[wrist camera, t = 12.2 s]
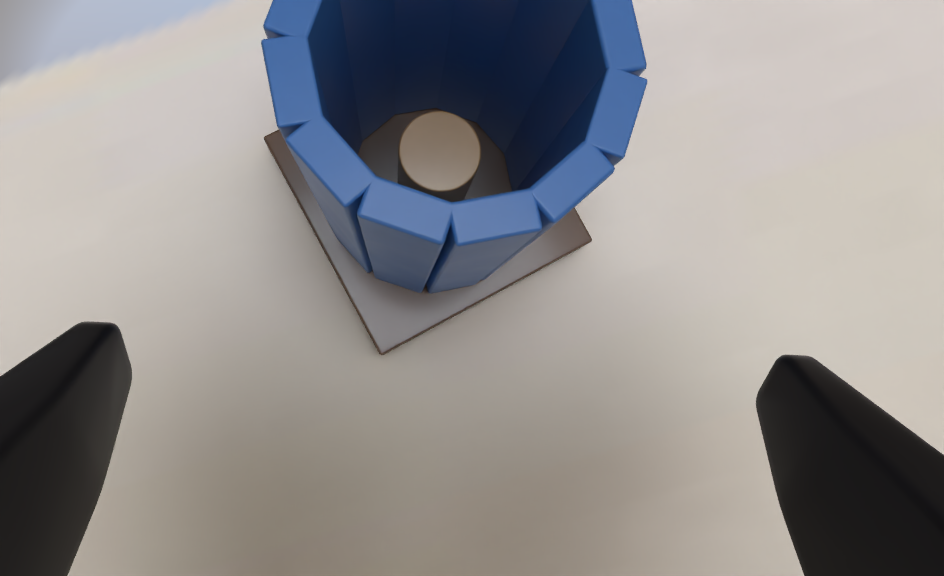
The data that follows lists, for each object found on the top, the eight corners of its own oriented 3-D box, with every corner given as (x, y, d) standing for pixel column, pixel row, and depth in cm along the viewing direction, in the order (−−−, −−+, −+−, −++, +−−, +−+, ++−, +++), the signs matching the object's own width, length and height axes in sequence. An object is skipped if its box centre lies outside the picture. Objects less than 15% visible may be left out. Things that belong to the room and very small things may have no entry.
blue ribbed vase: (552, 269, 22) (681, 203, 12) (348, 310, 21) (305, 275, 11) (509, 73, 22) (600, -145, 13) (307, 104, 22) (233, -103, 12)
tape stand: (583, 246, 23) (640, 214, 18) (381, 355, 22) (376, 357, 17) (475, 48, 24) (499, -41, 18) (269, 147, 22) (228, 83, 17)
